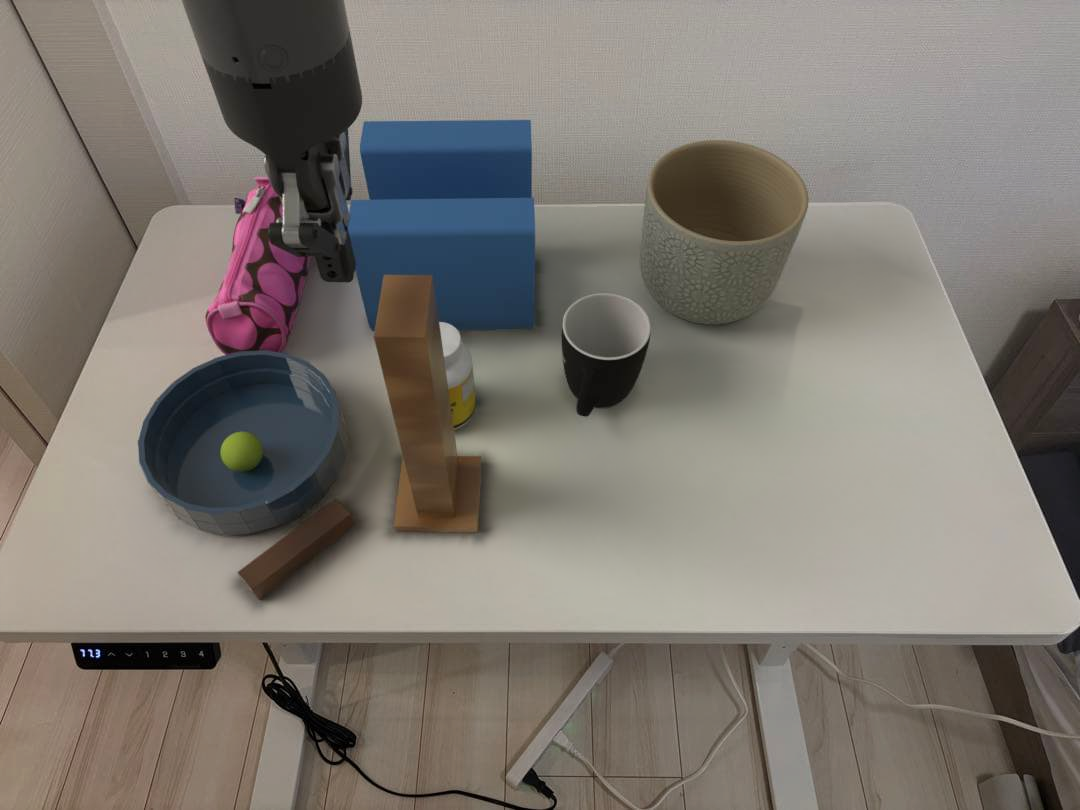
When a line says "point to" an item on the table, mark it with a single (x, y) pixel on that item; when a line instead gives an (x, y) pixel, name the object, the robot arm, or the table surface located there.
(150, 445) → the bowl
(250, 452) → the grape
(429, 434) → the stand
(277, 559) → the stick
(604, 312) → the mug
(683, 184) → the planter
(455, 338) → the pill bottle
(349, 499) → the table surface
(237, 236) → the pencil case
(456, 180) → the block
